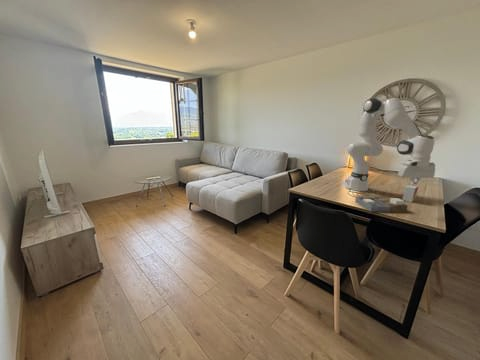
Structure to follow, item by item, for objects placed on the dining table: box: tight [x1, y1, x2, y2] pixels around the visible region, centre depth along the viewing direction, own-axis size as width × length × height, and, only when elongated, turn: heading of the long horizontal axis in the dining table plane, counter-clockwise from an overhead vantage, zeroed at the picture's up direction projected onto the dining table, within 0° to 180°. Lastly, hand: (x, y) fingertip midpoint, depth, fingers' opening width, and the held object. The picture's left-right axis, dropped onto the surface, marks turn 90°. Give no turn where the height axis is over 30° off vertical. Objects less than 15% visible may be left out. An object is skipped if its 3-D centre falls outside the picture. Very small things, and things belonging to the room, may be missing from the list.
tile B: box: [390, 197, 405, 205], centre depth 126 cm, size 5×5×2 cm
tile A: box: [363, 199, 375, 205], centre depth 134 cm, size 5×5×2 cm
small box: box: [401, 184, 419, 203], centre depth 142 cm, size 8×6×10 cm
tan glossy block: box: [374, 196, 409, 213], centre depth 130 cm, size 16×10×4 cm, turn 1°
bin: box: [354, 196, 391, 213], centre depth 130 cm, size 16×12×4 cm
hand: (413, 184), depth 123 cm, fingers closed
